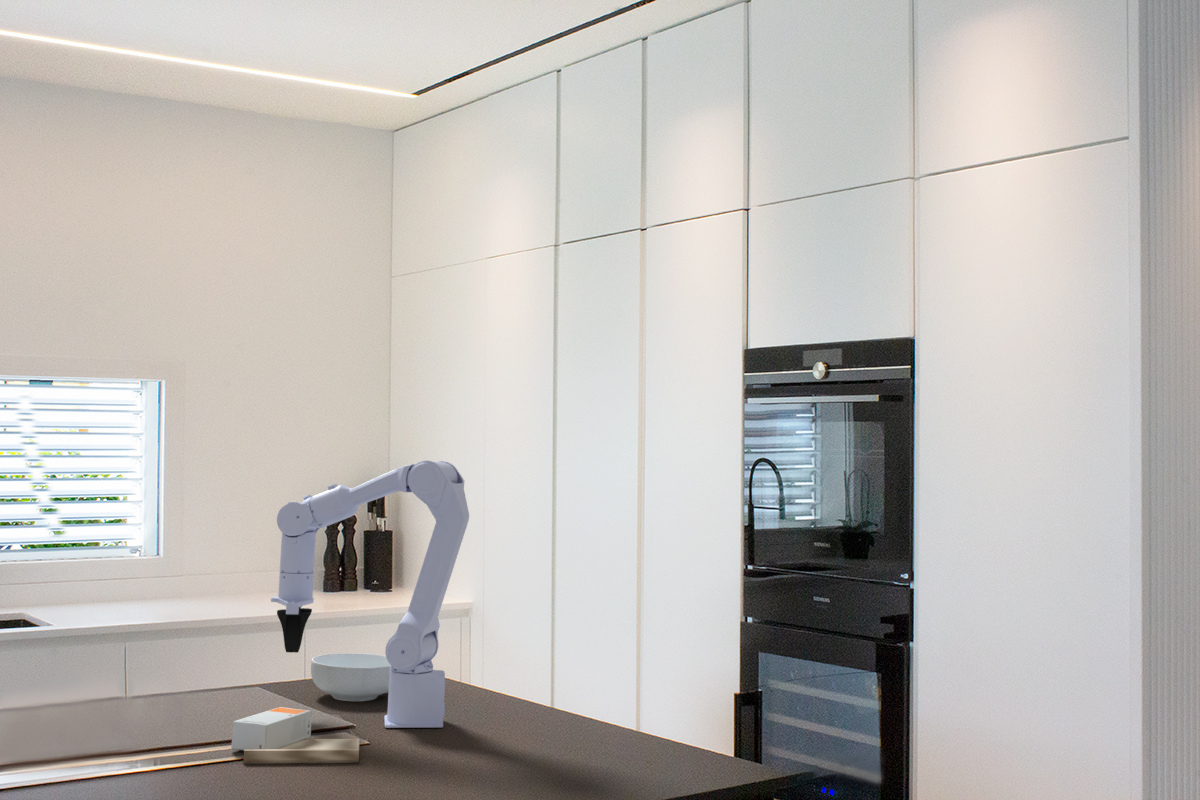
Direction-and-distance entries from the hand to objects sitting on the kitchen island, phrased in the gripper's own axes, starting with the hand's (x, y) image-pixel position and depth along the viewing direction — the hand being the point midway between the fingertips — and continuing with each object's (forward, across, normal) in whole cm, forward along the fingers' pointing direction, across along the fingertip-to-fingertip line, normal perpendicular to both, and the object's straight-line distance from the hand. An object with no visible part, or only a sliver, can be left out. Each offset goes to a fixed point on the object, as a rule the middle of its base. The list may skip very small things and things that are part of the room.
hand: (292, 651), depth 198 cm
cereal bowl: (+11, -14, +11) cm, 21 cm away
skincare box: (+8, +18, +2) cm, 19 cm away
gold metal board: (+10, +27, +4) cm, 29 cm away
